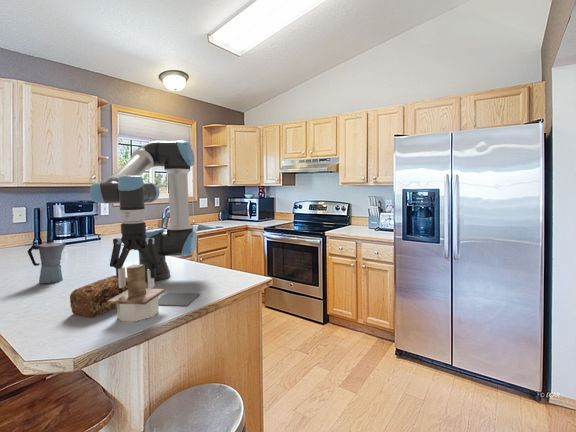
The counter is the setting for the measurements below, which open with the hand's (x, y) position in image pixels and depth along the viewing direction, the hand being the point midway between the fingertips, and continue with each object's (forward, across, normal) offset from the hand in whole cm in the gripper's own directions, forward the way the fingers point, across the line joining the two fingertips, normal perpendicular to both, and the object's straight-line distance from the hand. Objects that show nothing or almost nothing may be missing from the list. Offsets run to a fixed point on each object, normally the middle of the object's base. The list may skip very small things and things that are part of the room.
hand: (136, 287), depth 109 cm
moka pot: (+10, -63, +33) cm, 72 cm away
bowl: (+9, 0, 0) cm, 9 cm away
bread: (+10, -16, +5) cm, 20 cm away
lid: (+3, 0, 0) cm, 3 cm away
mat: (+9, +7, +14) cm, 19 cm away
